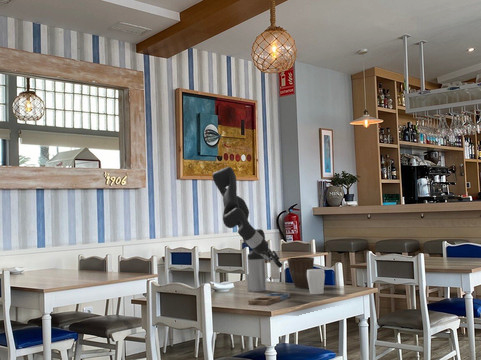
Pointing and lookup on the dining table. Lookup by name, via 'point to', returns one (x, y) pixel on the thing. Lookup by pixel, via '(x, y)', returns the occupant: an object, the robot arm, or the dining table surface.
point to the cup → (316, 280)
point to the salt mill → (274, 269)
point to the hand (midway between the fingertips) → (278, 265)
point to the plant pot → (300, 270)
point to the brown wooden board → (268, 299)
